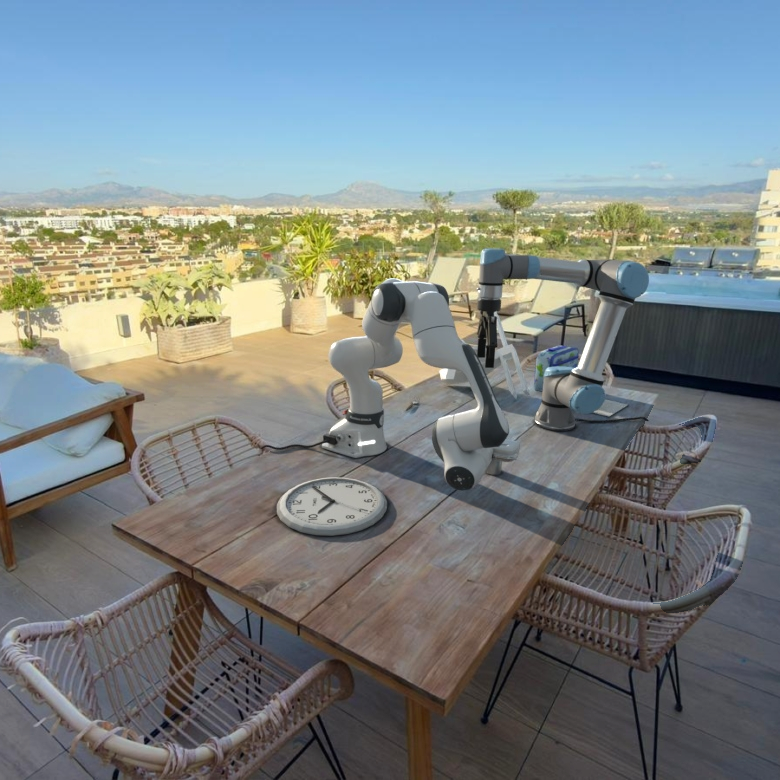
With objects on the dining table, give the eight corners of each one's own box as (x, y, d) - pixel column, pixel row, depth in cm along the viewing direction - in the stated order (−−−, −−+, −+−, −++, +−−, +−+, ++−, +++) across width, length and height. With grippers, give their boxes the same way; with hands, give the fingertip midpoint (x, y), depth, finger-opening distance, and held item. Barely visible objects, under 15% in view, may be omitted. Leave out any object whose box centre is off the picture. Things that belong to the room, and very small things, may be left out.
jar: (503, 470, 165) (509, 412, 159) (496, 476, 161) (502, 417, 155) (488, 466, 168) (493, 408, 162) (481, 471, 164) (485, 413, 158)
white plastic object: (461, 429, 252) (437, 405, 227) (444, 352, 274) (420, 323, 250) (535, 404, 240) (518, 377, 215) (510, 326, 262) (492, 293, 237)
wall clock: (392, 527, 129) (268, 531, 127) (391, 533, 130) (269, 537, 127) (383, 473, 158) (282, 475, 155) (383, 478, 158) (282, 480, 156)
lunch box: (550, 398, 235) (555, 353, 229) (529, 393, 243) (534, 349, 236) (577, 387, 253) (583, 345, 247) (557, 382, 260) (562, 341, 254)
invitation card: (608, 416, 214) (573, 407, 224) (608, 416, 214) (573, 408, 224) (628, 404, 229) (594, 396, 238) (628, 405, 229) (594, 397, 238)
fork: (403, 411, 216) (403, 406, 215) (414, 400, 230) (414, 395, 230) (409, 412, 215) (409, 407, 215) (420, 400, 229) (420, 396, 229)
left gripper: (517, 449, 132) (525, 430, 144) (439, 435, 139) (453, 418, 151) (514, 472, 134) (523, 451, 146) (438, 457, 141) (452, 438, 153)
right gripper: (471, 293, 180) (467, 353, 186) (486, 303, 156) (481, 372, 162) (492, 293, 180) (488, 353, 186) (511, 303, 156) (505, 372, 163)
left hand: (487, 434), depth 148 cm, fingers open, 8 cm apart
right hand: (484, 362), depth 174 cm, fingers open, 13 cm apart
